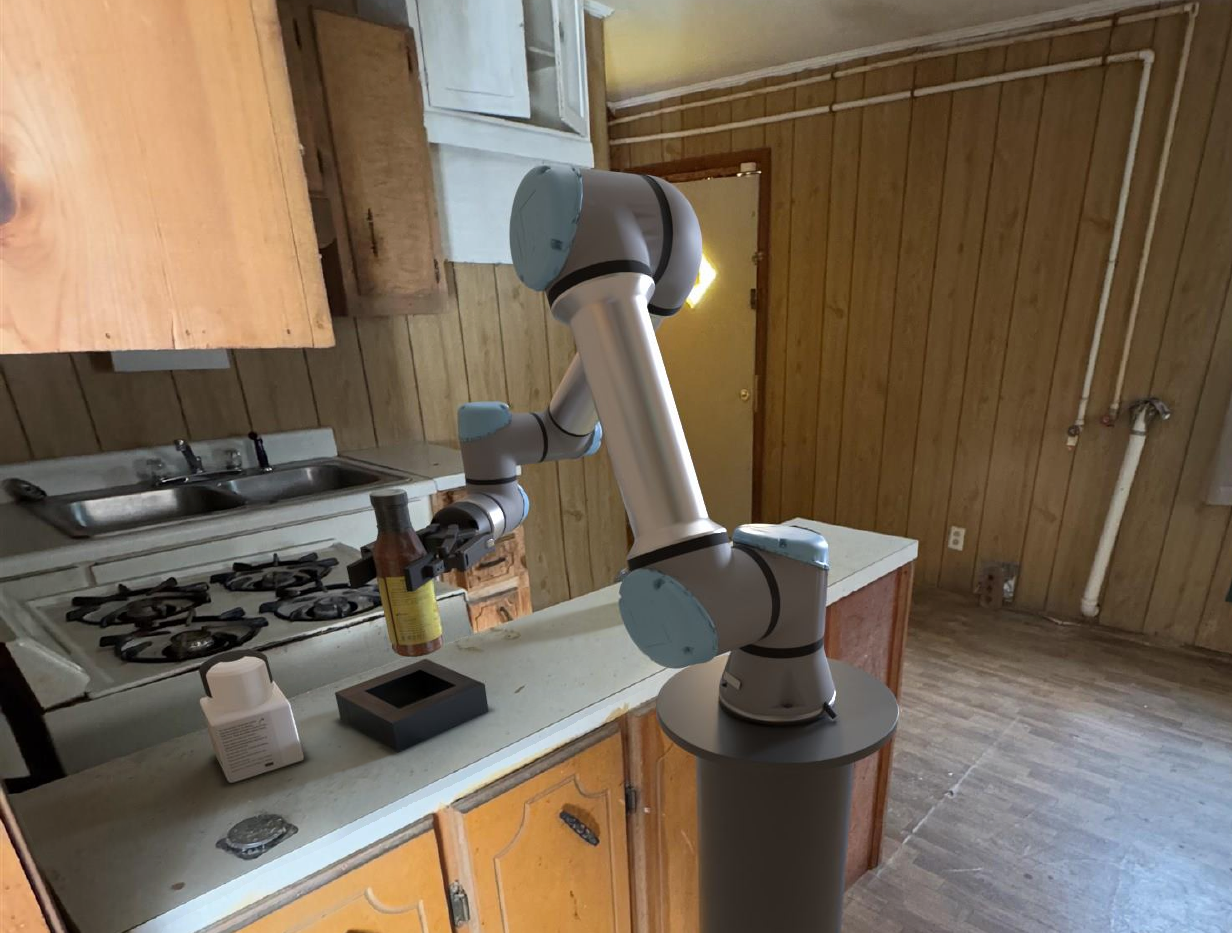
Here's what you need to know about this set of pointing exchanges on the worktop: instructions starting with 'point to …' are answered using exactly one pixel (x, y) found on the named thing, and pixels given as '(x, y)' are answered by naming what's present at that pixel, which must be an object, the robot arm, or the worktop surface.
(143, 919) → the worktop surface
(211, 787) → the worktop surface
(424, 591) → the sauce bottle
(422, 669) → the black square socket
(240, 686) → the container
